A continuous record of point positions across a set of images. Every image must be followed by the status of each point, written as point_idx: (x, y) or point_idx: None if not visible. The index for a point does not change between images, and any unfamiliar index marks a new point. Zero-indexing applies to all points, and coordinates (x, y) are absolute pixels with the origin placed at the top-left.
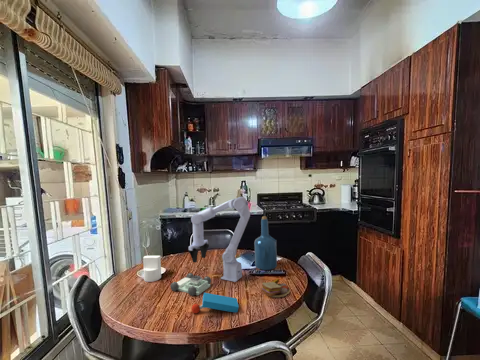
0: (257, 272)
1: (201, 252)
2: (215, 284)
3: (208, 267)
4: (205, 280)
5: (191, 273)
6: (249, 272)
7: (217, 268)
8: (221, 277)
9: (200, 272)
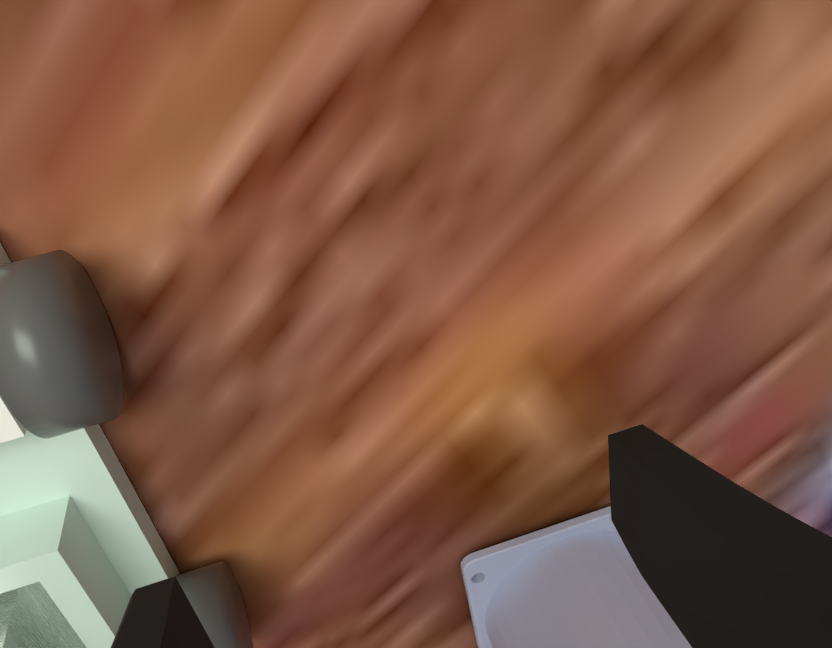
0: None
1: (726, 556)
2: (299, 626)
3: (765, 35)
4: None
5: (75, 407)
6: None
7: (771, 227)
8: (484, 563)
9: (483, 114)
